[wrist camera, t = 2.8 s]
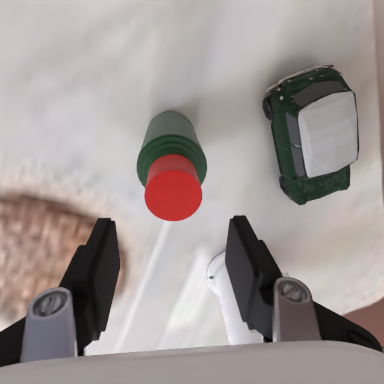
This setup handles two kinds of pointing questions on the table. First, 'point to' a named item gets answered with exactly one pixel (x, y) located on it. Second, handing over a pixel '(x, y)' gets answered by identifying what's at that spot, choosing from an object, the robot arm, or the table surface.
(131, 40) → the table surface
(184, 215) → the cap
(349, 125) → the miniature car
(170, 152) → the bottle
